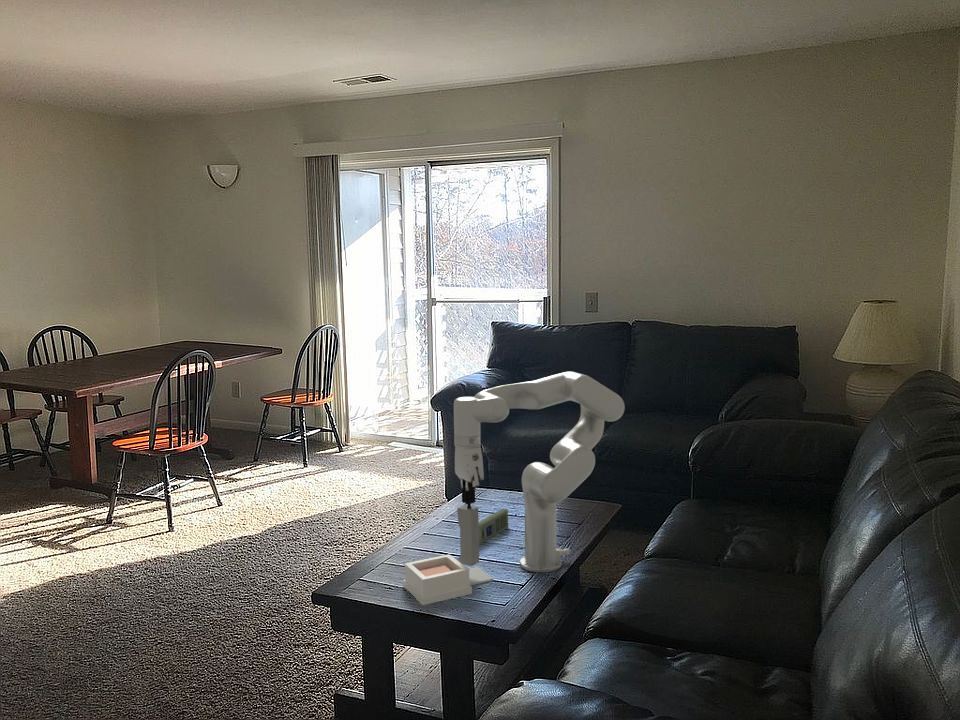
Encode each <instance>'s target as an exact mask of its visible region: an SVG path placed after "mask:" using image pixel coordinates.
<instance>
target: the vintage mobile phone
mask: <svg viewBox="0 0 960 720" xmlns="http://www.w3.org/2000/svg"><path fill="white" fill-rule="evenodd" d="M469 484H470V483H469ZM471 504H472V503H471ZM471 504H463V505H461V506H458V507H457V508H456V512H457V522H458V527H459V538H460V539H459V540H460V541H459V542H460V545H459V547H460V548H459V549H460V554H459V557H458V559H457V561H459V562H460V563H461V564H463V565H464V566H469V567H473V566H476V564H479V563H480V545H479V522H480V521H479V508H478V507H477V506H473V505H471Z"/></svg>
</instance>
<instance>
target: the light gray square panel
mask: <svg viewBox="0 0 960 720" xmlns="http://www.w3.org/2000/svg"><path fill="white" fill-rule="evenodd" d="M468 569H469V585H470V586H471V587H472V586H476V585H479V584H484V583H488V582H492V581H494V578H493V576H491V575H489V574H488V573H487V572H485V571H484V570H482V569H481V568H480V567H478V566H474V567H470V568H468Z"/></svg>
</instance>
